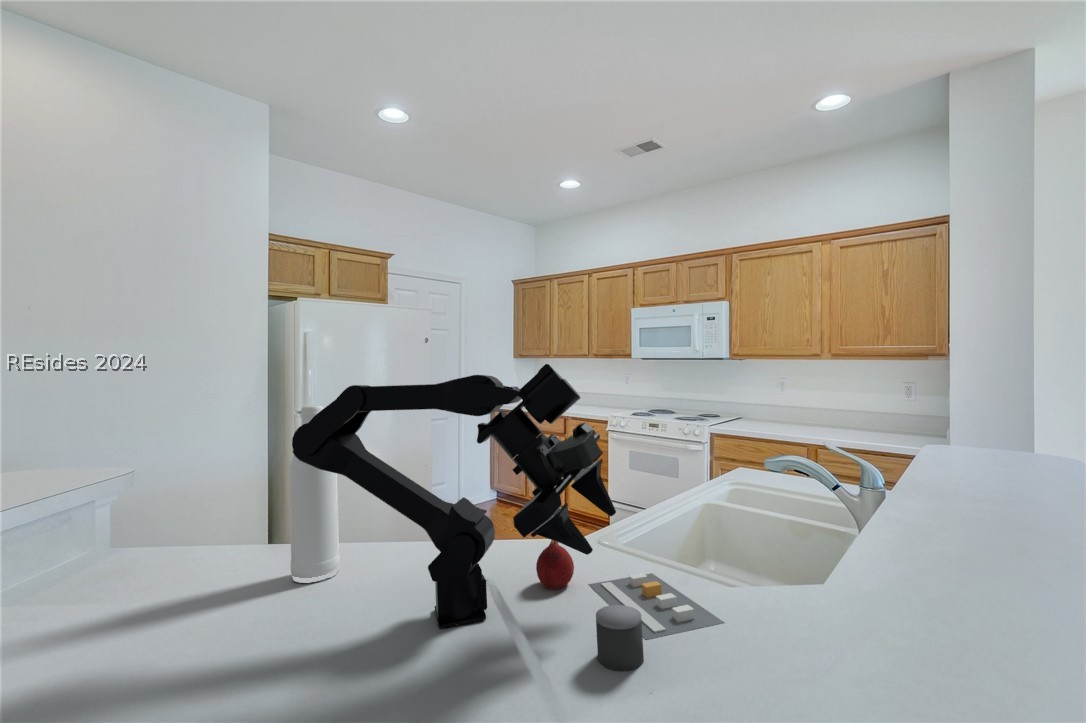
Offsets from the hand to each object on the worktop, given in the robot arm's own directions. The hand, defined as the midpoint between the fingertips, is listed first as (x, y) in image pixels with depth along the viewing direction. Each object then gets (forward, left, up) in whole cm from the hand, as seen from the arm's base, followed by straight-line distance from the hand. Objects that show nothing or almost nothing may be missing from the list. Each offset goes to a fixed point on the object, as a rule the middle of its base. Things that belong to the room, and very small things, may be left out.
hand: (602, 532), depth 68 cm
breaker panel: (+6, -1, -11) cm, 13 cm away
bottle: (-41, +34, -11) cm, 55 cm away
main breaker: (+8, +1, -10) cm, 13 cm away
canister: (-4, -12, -11) cm, 17 cm away
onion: (-4, +10, -11) cm, 16 cm away
